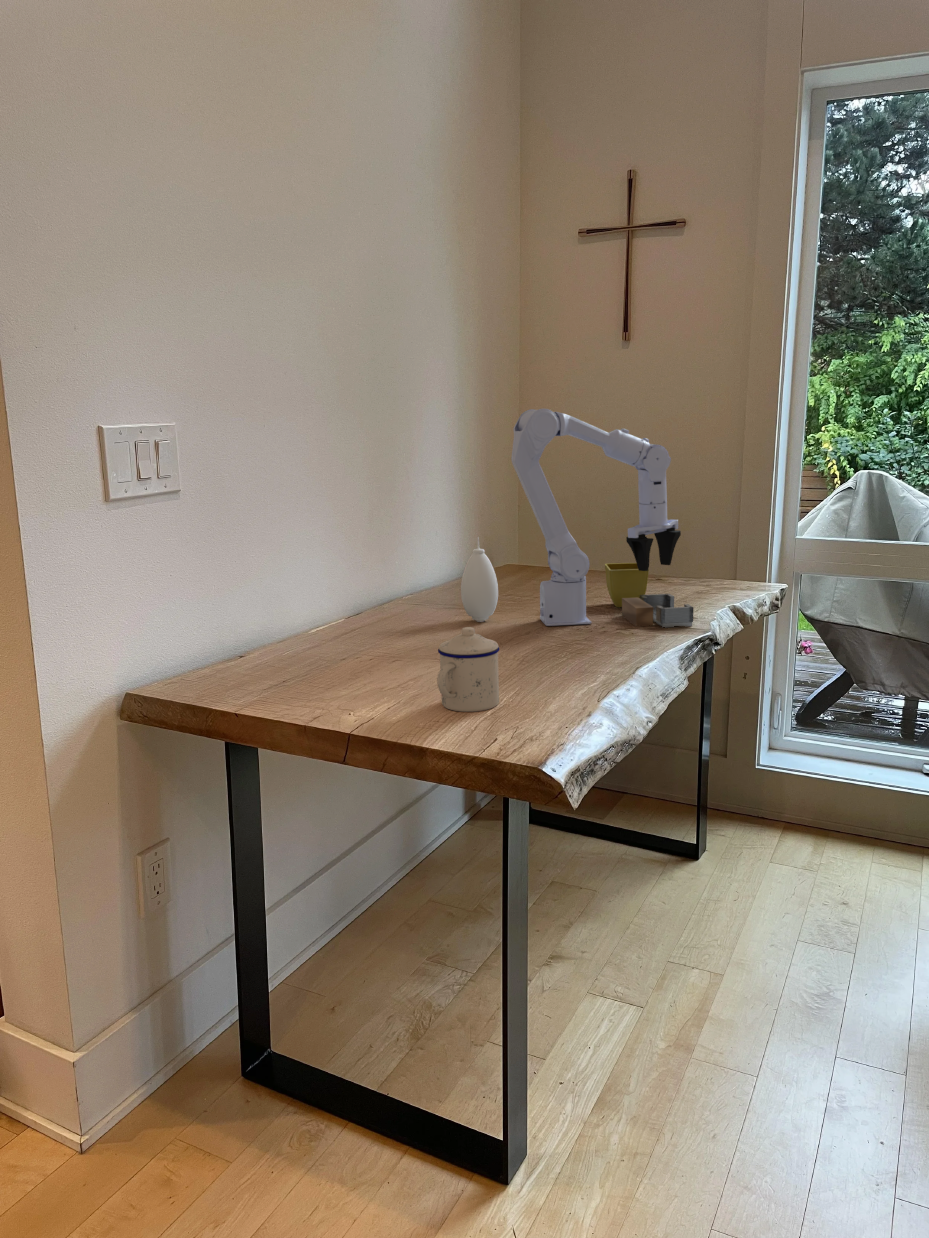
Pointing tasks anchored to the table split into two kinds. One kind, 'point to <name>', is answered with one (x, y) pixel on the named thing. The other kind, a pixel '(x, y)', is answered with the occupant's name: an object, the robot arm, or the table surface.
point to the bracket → (668, 610)
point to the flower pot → (625, 581)
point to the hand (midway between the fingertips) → (654, 567)
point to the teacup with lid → (468, 672)
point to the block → (637, 611)
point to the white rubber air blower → (479, 586)
